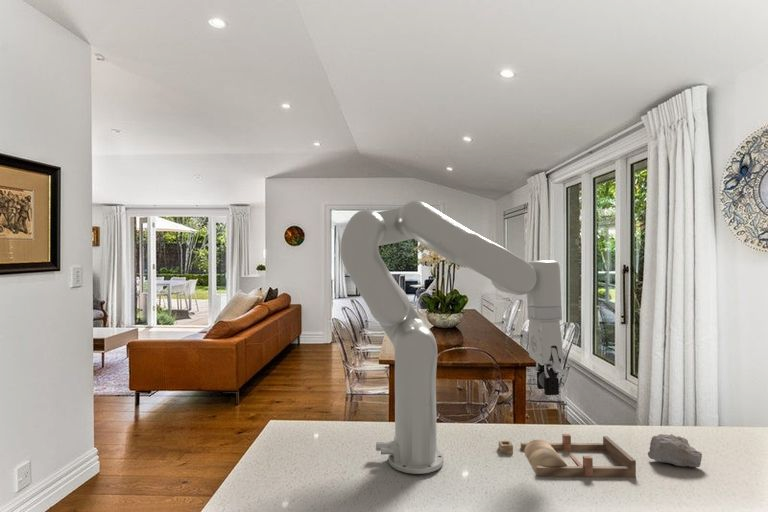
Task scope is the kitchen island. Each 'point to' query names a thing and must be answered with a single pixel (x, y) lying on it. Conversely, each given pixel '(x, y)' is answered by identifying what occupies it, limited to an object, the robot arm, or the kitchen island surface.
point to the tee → (505, 447)
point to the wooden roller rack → (553, 465)
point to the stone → (674, 451)
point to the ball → (541, 378)
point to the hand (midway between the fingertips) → (547, 390)
